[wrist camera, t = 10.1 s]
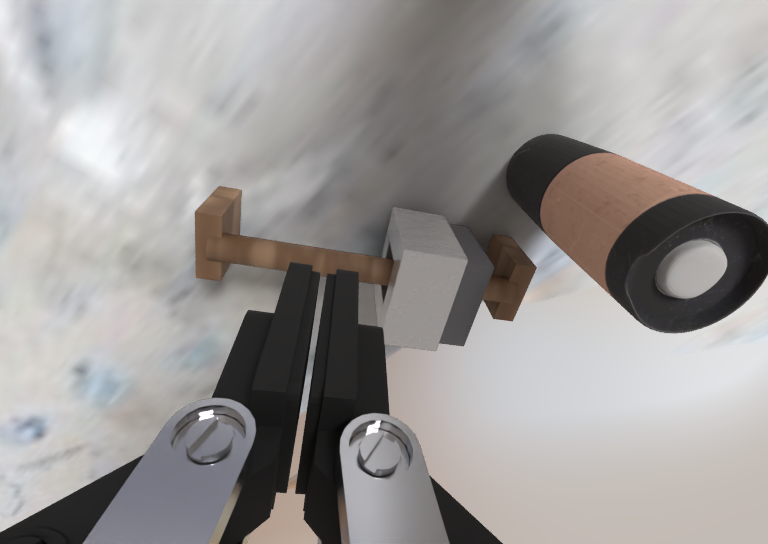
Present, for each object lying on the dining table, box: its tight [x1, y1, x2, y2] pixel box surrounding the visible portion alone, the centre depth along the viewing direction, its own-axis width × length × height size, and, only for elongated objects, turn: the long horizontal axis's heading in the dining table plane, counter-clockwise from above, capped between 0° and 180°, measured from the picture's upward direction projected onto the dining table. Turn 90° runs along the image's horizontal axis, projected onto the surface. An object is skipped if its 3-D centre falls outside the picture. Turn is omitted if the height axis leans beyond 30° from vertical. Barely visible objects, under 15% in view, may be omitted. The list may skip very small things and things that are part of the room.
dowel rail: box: [195, 186, 537, 321], centre depth 37 cm, size 29×6×7 cm, turn 78°
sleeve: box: [374, 207, 468, 351], centre depth 36 cm, size 5×9×9 cm, turn 168°
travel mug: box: [506, 134, 768, 333], centre depth 29 cm, size 8×8×20 cm
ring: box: [439, 224, 495, 346], centre depth 36 cm, size 2×8×8 cm, turn 168°
